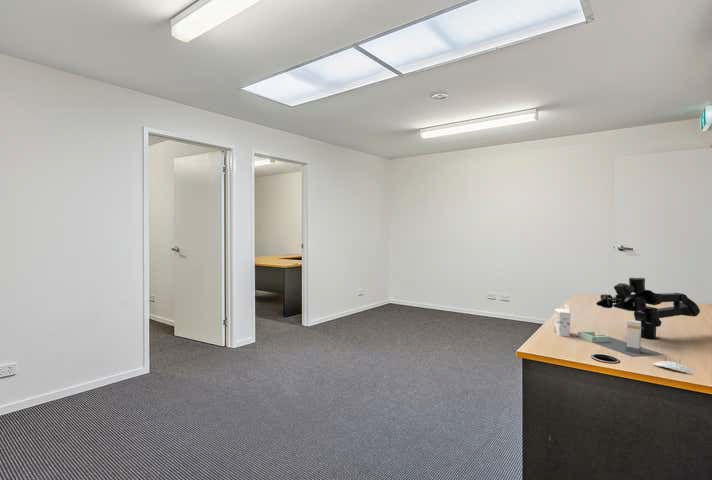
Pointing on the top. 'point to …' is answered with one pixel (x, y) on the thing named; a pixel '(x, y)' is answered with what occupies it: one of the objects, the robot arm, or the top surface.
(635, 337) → the white rectangular container
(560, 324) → the ink cartridge box
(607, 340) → the holder
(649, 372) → the top surface
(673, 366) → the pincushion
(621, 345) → the mat
